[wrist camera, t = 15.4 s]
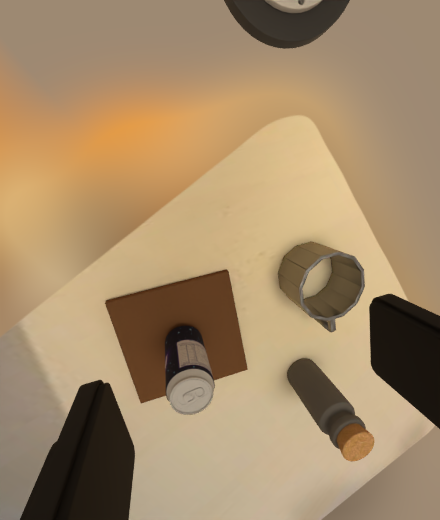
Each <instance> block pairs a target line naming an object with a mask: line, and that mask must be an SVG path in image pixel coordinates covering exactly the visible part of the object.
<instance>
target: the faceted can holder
mask: <svg viewBox="0 0 440 520" xmlns="http://www.w3.org/2000/svg"><path fill="white" fill-rule="evenodd" d="M329 257H330V258H331V263H332V274H331V277H330V279H329V281H328V284H327V286H326V287H325V288H324V289H323V290H321V291H320V292H319V293H318V294H317V295H316V296H312V297H309V298H305V299H303V290H302V288H303V285H304V283H305V280H306V278H307V275H308V273H309V271H310V270H311V269H312V268H313V267H315V266H316V265H317V264H318V263H319V262H320V261H321V260H322V259H325V258H329ZM278 278H279V285H280V289H281V290H282V291H283V292H284V293H285V294H286V295H287V297H288V298H289V299H290V300H292V301H293V302H294V303H295V304H296V305H297V306H299V307H300V308H301V309H302V310H303V311H304V312H305V313H307V314H308V315H309V316H310V317H312V318H314V319H315V320H316V321H317V322H319V323H320V324H321V325H322V326H323V327H324V328H326V329H327V330H328V331H329V332H334V331H335V330H336V325H335V319H336V318H339V317H342V316H344V315H345V314H346V313H347V312H349V311H350V310H351V309H352V308H353V307H354V306H355V305H356V303H358V301H359V298H360V296H361V294H362V292H363V290H364V287H365V284H364V269H363V268H362V266H361V265H360V263H359V262H358V260H357V259H356V258H355V257H354V256H352V255H349V254H346V253H343V252H340V251H338V250H335V249H332V248H329V247H326V246H323V245H320V244H317V243H314V242H309V243H305V244H301V245H297V246H295V247H294V248H293V249H292V250H291V251H290V252H289V253H288V254H287V255H286V256H284V258H283V261H282V263H281V266H280V268H279V271H278ZM327 321H328V322H327Z"/></svg>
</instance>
